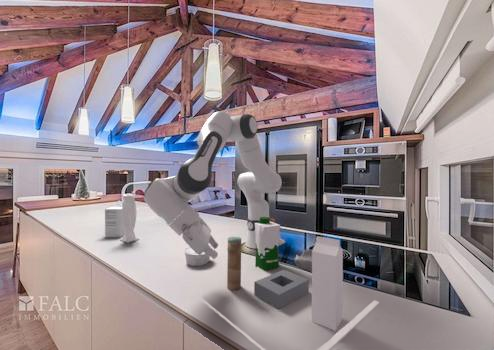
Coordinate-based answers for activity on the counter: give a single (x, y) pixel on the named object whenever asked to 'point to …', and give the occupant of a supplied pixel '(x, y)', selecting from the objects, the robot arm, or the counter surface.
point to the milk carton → (267, 244)
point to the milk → (327, 282)
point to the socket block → (281, 288)
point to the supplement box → (113, 222)
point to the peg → (234, 263)
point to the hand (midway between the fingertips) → (216, 251)
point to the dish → (305, 260)
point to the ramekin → (196, 257)
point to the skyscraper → (129, 217)
